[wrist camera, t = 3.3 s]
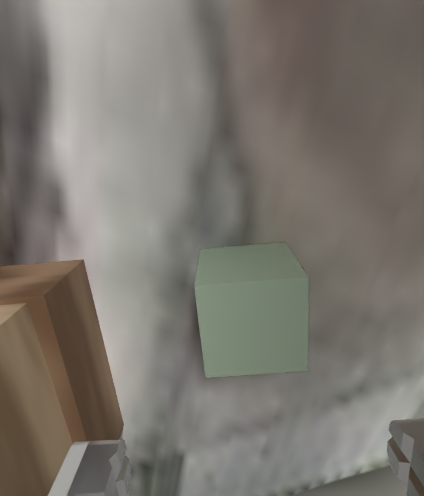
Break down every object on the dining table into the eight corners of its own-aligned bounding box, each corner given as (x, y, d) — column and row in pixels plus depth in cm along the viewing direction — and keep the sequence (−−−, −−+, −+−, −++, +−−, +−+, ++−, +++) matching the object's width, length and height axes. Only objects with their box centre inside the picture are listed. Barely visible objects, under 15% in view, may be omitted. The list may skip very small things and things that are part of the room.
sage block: (285, 241, 19) (308, 277, 14) (286, 316, 20) (308, 371, 15) (200, 248, 19) (194, 286, 14) (208, 322, 20) (205, 378, 16)
